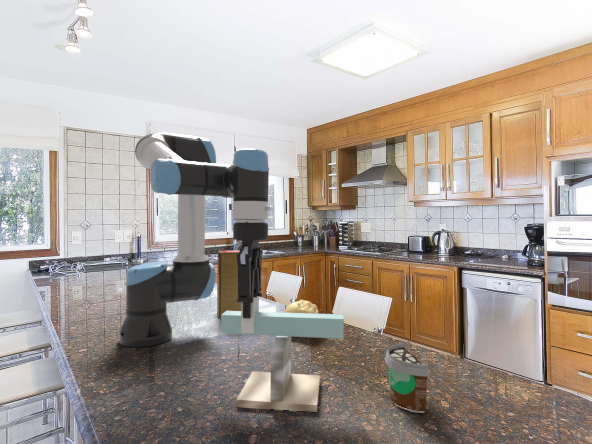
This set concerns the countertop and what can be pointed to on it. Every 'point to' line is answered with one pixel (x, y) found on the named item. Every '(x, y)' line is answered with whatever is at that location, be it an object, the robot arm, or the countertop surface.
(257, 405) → the balance stand
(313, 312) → the sculpture
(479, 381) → the countertop surface
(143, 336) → the robot arm
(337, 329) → the beam
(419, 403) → the food container
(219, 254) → the food packaging
